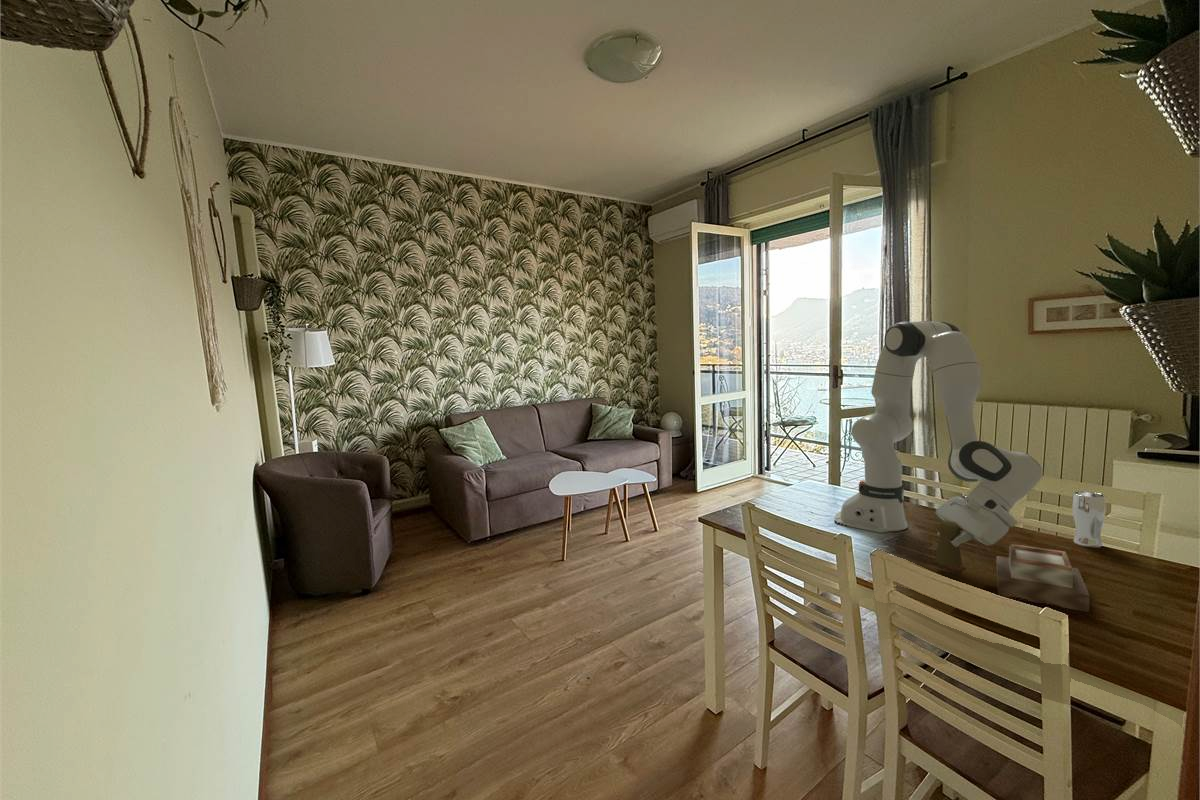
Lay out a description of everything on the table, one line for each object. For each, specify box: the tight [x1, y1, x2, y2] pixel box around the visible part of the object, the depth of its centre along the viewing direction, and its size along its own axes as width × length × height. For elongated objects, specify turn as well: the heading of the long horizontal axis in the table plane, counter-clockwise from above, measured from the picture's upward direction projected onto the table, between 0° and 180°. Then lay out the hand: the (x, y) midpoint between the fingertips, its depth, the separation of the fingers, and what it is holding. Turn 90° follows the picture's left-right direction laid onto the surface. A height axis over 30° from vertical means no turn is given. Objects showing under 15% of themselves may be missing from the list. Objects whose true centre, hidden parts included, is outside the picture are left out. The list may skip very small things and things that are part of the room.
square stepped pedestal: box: [995, 543, 1090, 613], centre depth 124 cm, size 16×16×9 cm
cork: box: [934, 520, 963, 567], centre depth 135 cm, size 6×6×11 cm
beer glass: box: [1071, 490, 1107, 549], centre depth 147 cm, size 7×7×15 cm
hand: (946, 540), depth 135 cm, fingers closed on cork, 4 cm apart
